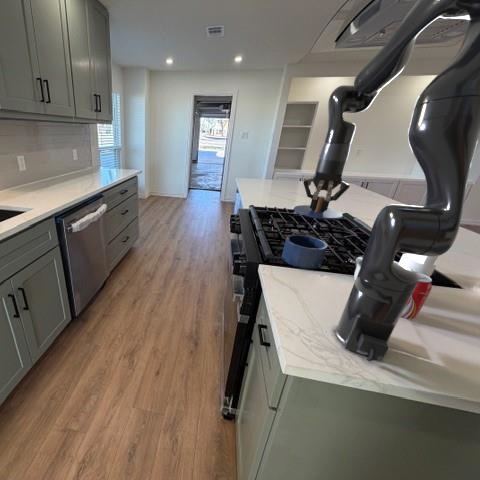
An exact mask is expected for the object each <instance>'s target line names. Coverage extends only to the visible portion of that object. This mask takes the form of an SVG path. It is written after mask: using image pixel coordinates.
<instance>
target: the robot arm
mask: <svg viewBox="0 0 480 480" xmlns="http://www.w3.org/2000/svg"><path fill="white" fill-rule="evenodd" d="M439 18H441V19H458V20H459V19H460V20H466V21H467V24H466V25H467V26H466V30H465V34H464V37H463V40H462V43H461V45H460V47H459V50H458V51H457V53H456V54H455V56H454V57H453V58H452V59H451V61H449V63H448V64H447V65H446V66H445V67H444V68H443V69H442V70H440V72H439V73H438V74H437V75H436V76H435V77H434V78H433V79H432V80H431V81H430V82H429V84H427V86H425V88H424V89H423V90H422V92H421V93H420V94H419V96H418V97H417V99H416V101H415V104H414V108H413V111H412V115H411V120H410V122H409V123H410V124H409V127H408V130H407V140H408V145H409V148H410V149H411V152H412V154H413V156H414V158H415V160H416V161H417V163H418V165H419V167H420V169H421V171H422V173H423V175H424V179H425V185H426V194H425V202H424V206H420V205H408V204H400V203H399V204H396V203H395V204H394V203H392V204H387V205H386V206H384V207H382V208H381V210H380V211H379V212H378V214H377V215H376V217H375V218H374V219H375V220H374V222H373V224H372V228H371V230H370V234H369V238H368V241H367V243H366V246H365V249H364V252H363V255H362V257H363V259H362V264H361V268H360V270H359V273H358V275H357V278H356V281H355V280H354V283H353V285H352V287H351V291H350V293H349V296H348V298H347V300H346V303H345V305H344V308H343V311H342V313H341V316H340V319H339V321H338V323H337V326H336V327H335V330H334V336H335V337H336V339H337V340H338V341H339V342H340V343H341V344H342V345H343V347H344V350H348V351H349V352H350V351H351V352H354V353H357V354H359V355H363V356H365V360H366V361H367V362H373V361H374V360H379V359H380V358H384V357H385V355H386V353H387V352H388V349H389V345H388V342H389V340H390V338H391V336H392V334H393V332H394V329H395V328H396V326H397V324H398V322H399V320H400V318H401V317H400V316H401V315H402V313H403V311H404V309H405V307H406V305H407V303H408V301H409V299H410V297H411V295H412V293H413V291H414V289H415V287H416V286H417V284H418V281H419V277H418V275H417V274H416V273H415V272H414V271H413V270H412V269H410V268H408V267H406V266H404V265H402V264H400V263H399V261H396V260H395V257H396V254H397V253H402V254H406V253H408V254H416V255H423V256H438V257H440V256H442V255H444V254H445V253H447V252H448V251H449V250H450V249H451V248H452V246H453V245H454V243H455V241H456V239H457V237H458V234H459V231H460V228H461V227H460V226H461V222H462V221H461V220H462V215H463V210H464V203H465V197H466V190H467V184H468V180H469V176H470V175H469V174H470V171H471V167H472V163H473V159H474V156H475V152H476V148H477V145H478V142H479V138H480V0H417V1H416V3H415V4H414V5H413V7H411V9H410V10H409V11H408V13H407V14H406V16H405V17H404V18H403V20H402V21H401V23H400V24H399V26H398V27H397V28H396V29H395V31H394V33H393V34H391V36H390V38H389V39H388V41H387V42H386V43H385V44H384V46H383V47H381V49H380V50H379V51H378V52H377V54H376V55H375V56H373V58H371V60H369V62H368V63H367V64H366V65H365V66H364V67H363V68H362V69H361V70H360V71H359V73H358V74H357V75H356V76H355V78H354V81H353V85H339V86H337V87H336V88H334V89H333V91H332V92H331V94H330V95H329V98H328V102H327V131H326V134H325V139H324V142H323V145H322V147H321V150H320V153H319V157H318V161H317V165H316V168H315V172H314V174H313V176H312V177H311V178H307V179H306V178H305V179H303V187H304V189H305V193H306V196H307V198H310V199H311V201H310V209H311V210H312V211H314V208H315V205H316V201H317V197H318V196H319V194H320V193H321V191H326V194H325V197H326V198H325V201H324V205H323V208H322V211H321V212H324V211H326V210H327V208H329V205H330V202H332V201H333V202H336V201H338V200H339V198H340V197H342V196H343V195H344V194H345V192H347V190H348V189H350V184H349V183H347V182H345V181H343V174H344V171H345V168H346V163H347V162H348V158H349V155H350V152H351V151H350V150H351V144H352V142H353V138H354V135H355V132H356V128H357V126H356V124H355V123H354V122H352V121H347V120H345V117H344V114H359V113H363V112H364V111H366V110H367V109H368V108H369V107H370V106H371V105H372V104H373V102H374V100H375V99H376V97H377V96H378V95H379V93H380V91H381V90H382V89H383V88H384V87H386V86H387V85H388V84H389V83H391V81H393V80H394V79H395V78H396V77H397V76H398V75H399V74H401V73H402V71H403V70H404V69H405V68H406V66H408V64H409V62H410V60H411V58H412V55H413V52H414V48H415V45H416V42H417V38H418V37H419V35H420V34H421V33H422V31H424V30H425V29H426V28H427V27H428V26H429V25H430V24H432V23H433V22H434V21H436V20H437V19H439ZM312 183H313V185H314V187H315V189H314V192H313V193H312V191H311V188H310V186H311V185H312ZM338 186H339V190H337V191H336V192H335V194H333V190H334V189H336V188H337V187H338ZM332 194H333V195H332Z"/></svg>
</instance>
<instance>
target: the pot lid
mask: <svg viewBox="0 0 480 480" xmlns="http://www.w3.org/2000/svg"><path fill="white" fill-rule="evenodd" d="M325 199H326V196H322V195H318V197H317V201H316V205H315V208H314V211H312V210H311V209H310V205H309V204H308V205H307V204H304V205H303V204H302V205H296V206H294V207H293V210H294V212H296V213H298V214H299V215H303V216H304V217H305V216H306V217H308V218H313V219H319V220H339V219H341V218H343V214H342V213H341V212H340V211H338V210H335V209H332V208H329V207H328V208H327V210H326V211H324V212H321V211H322V208H323V205H324V201H325Z"/></svg>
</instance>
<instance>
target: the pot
mask: <svg viewBox="0 0 480 480" xmlns="http://www.w3.org/2000/svg"><path fill="white" fill-rule="evenodd" d="M327 250H328V244H327V243H326V242H325V241H324V240H321V239H320V238H316V237H313V236H310V235H305V234H289V235H287V236H286V238H285V240H284V245H283V249H282V253H281V259H282V261H284V262H285V263H287V264H288V265H290V266H293V267H296V268H300V269H303V270H304V269H305V270H319V268H321V267H322V265H323V262H324V259H325V256H326V254H327V253H326V252H327ZM283 258H284V259H285V260H284V259H283Z"/></svg>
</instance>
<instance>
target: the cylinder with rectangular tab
mask: <svg viewBox="0 0 480 480" xmlns="http://www.w3.org/2000/svg"><path fill="white" fill-rule="evenodd" d="M438 257H439V256H423V255H416V254H408V253H402V255H401V257H400V260H399V261H398V263H400V264H402V265H404V266H406V267H408V268H410V269H412V270H413V271H415V272H419V273H422V274H424V275H426V276H428V277H430V276H431V277H432V275H433V273H434V272H435V269H436V268H437V265H438V262H437V260H438ZM431 277H430V278H431Z"/></svg>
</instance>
